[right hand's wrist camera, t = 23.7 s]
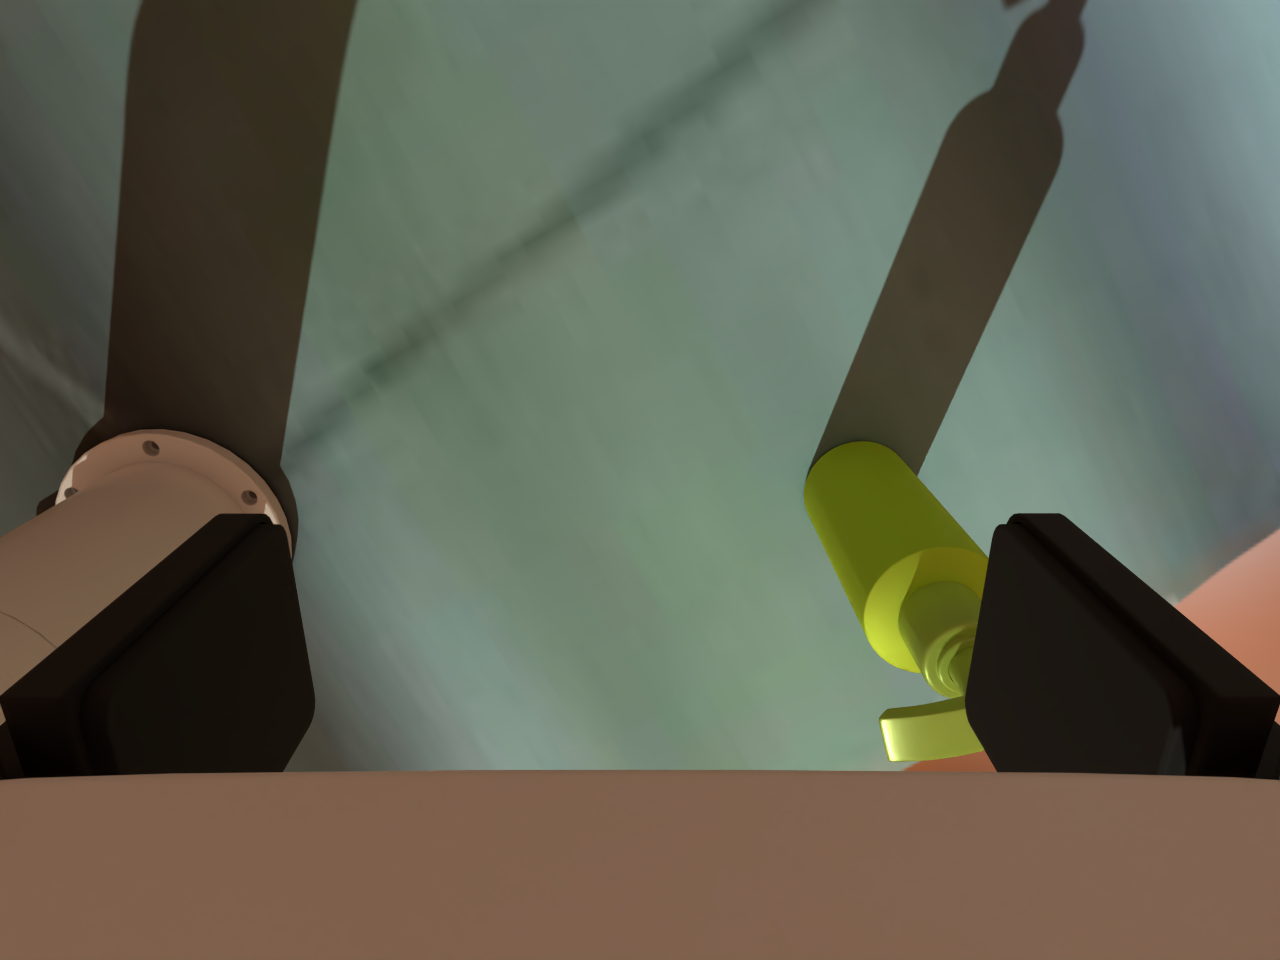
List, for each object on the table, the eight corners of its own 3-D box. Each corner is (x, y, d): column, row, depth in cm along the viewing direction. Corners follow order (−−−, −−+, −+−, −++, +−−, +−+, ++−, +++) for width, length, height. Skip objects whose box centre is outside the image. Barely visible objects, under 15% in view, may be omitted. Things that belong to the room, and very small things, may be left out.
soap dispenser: (774, 462, 45) (870, 678, 26) (900, 428, 44) (1091, 624, 25) (798, 555, 47) (902, 817, 28) (918, 523, 46) (1108, 770, 27)
